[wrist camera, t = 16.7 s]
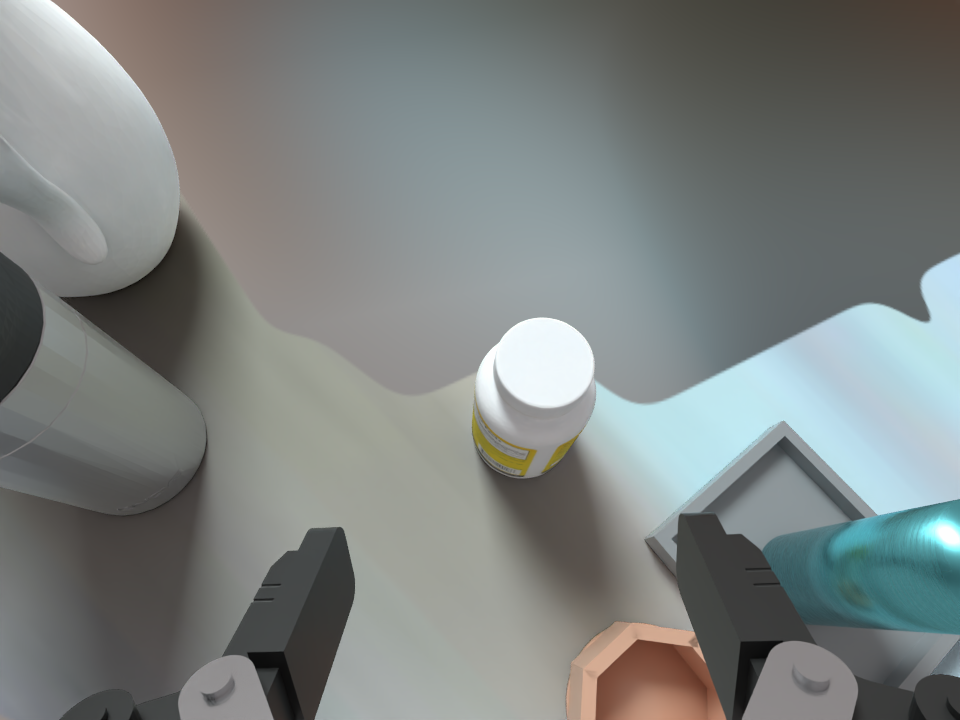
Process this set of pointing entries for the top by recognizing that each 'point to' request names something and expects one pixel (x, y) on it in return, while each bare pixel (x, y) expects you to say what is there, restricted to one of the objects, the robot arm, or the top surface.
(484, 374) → the supplement bottle
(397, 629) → the top surface
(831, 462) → the top surface
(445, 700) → the top surface
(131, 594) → the top surface
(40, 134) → the pitcher
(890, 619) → the bottle
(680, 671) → the peach octagonal bowl
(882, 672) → the tray
